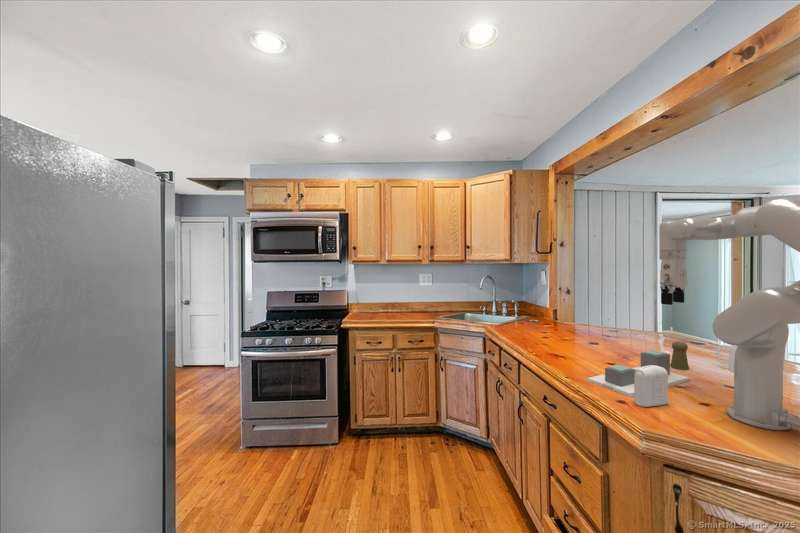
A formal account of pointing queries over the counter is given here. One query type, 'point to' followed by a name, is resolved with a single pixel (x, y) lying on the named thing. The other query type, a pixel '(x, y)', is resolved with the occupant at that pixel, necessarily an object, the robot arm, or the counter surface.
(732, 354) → the cup
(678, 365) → the olive green bristly cone
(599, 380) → the mounting board
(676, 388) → the counter surface
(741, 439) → the counter surface
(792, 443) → the counter surface
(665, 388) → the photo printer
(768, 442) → the counter surface
